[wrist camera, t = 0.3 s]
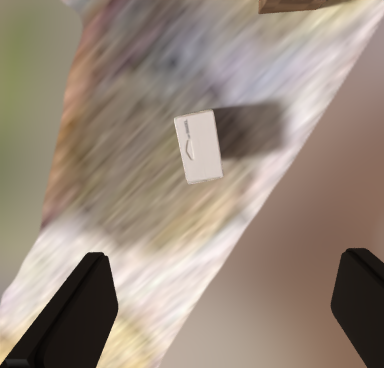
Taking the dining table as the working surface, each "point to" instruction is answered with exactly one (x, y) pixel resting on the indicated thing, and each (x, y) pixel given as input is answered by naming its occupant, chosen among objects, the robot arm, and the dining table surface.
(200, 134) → the ink box
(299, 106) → the dining table surface
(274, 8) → the walnut hole block
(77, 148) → the dining table surface
